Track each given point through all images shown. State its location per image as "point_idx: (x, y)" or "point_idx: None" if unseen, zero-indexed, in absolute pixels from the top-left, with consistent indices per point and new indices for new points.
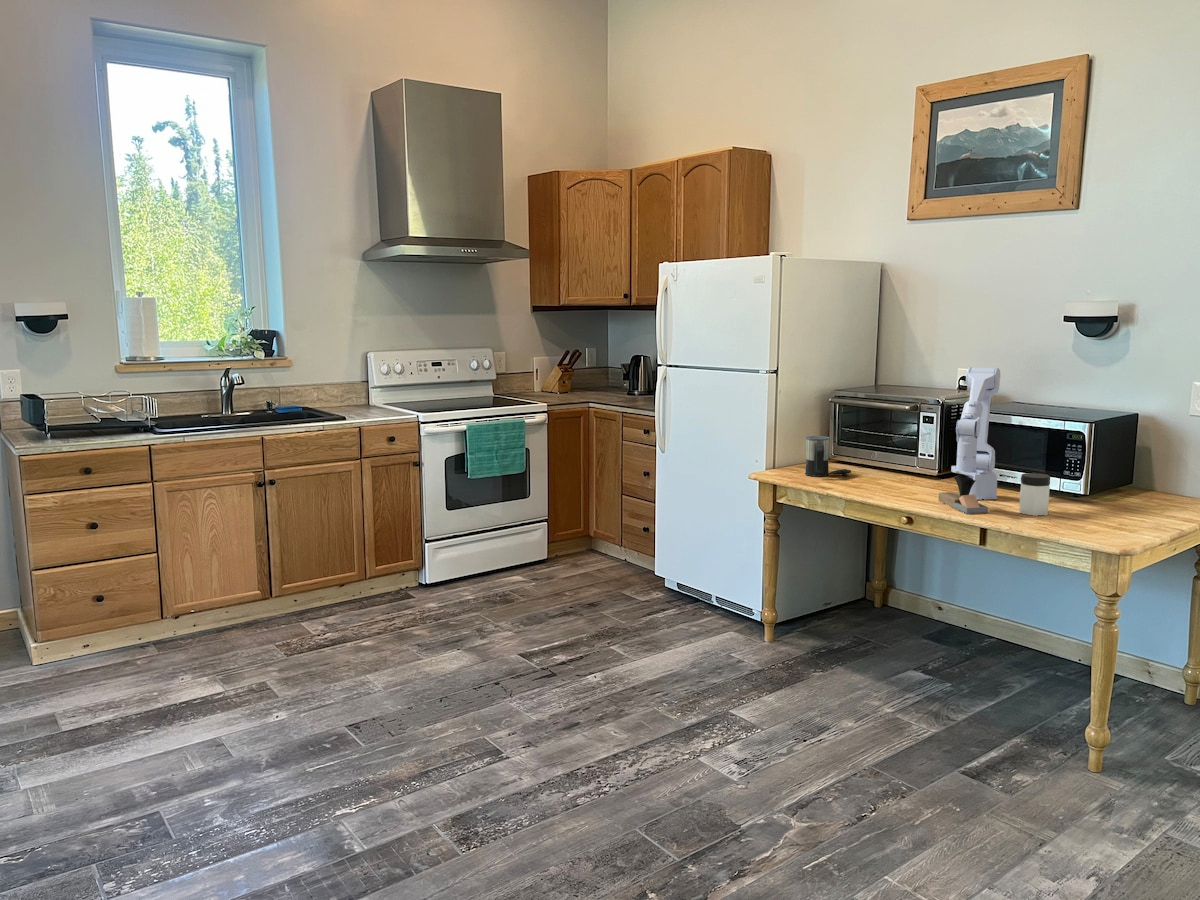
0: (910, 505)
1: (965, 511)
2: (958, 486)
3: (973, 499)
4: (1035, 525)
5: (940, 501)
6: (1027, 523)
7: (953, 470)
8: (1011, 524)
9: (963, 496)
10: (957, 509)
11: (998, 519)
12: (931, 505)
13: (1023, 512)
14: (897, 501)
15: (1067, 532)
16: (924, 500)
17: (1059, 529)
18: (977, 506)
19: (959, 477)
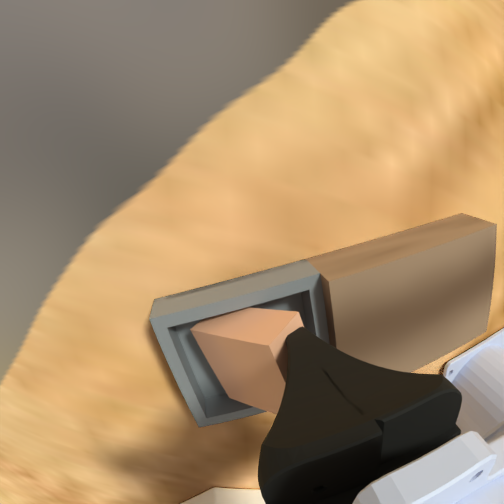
0: (380, 21)
1: (166, 302)
2: (351, 362)
3: (261, 396)
4: (41, 469)
5: (449, 219)
6: (57, 463)
7: (461, 473)
8: (17, 418)
9: (262, 350)
10: (268, 271)
11: (79, 409)
12: (390, 140)
13: (203, 496)
14: (449, 10)
15: (7, 487)
16: (479, 149)
17: (27, 490)
18: (224, 386)
19: (311, 462)
